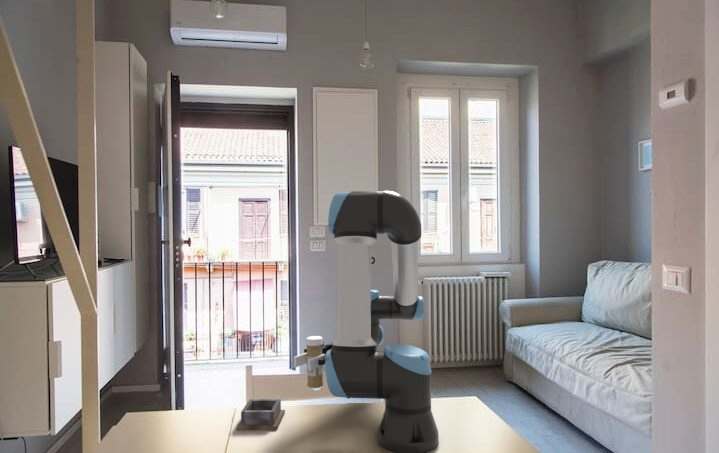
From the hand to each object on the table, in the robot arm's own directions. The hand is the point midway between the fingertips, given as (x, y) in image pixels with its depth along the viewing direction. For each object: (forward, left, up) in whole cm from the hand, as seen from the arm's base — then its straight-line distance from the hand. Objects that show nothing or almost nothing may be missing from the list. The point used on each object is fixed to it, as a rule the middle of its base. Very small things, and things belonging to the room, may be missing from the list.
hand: (302, 363), depth 119 cm
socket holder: (+14, +2, -18) cm, 23 cm away
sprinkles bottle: (0, -5, -8) cm, 9 cm away
